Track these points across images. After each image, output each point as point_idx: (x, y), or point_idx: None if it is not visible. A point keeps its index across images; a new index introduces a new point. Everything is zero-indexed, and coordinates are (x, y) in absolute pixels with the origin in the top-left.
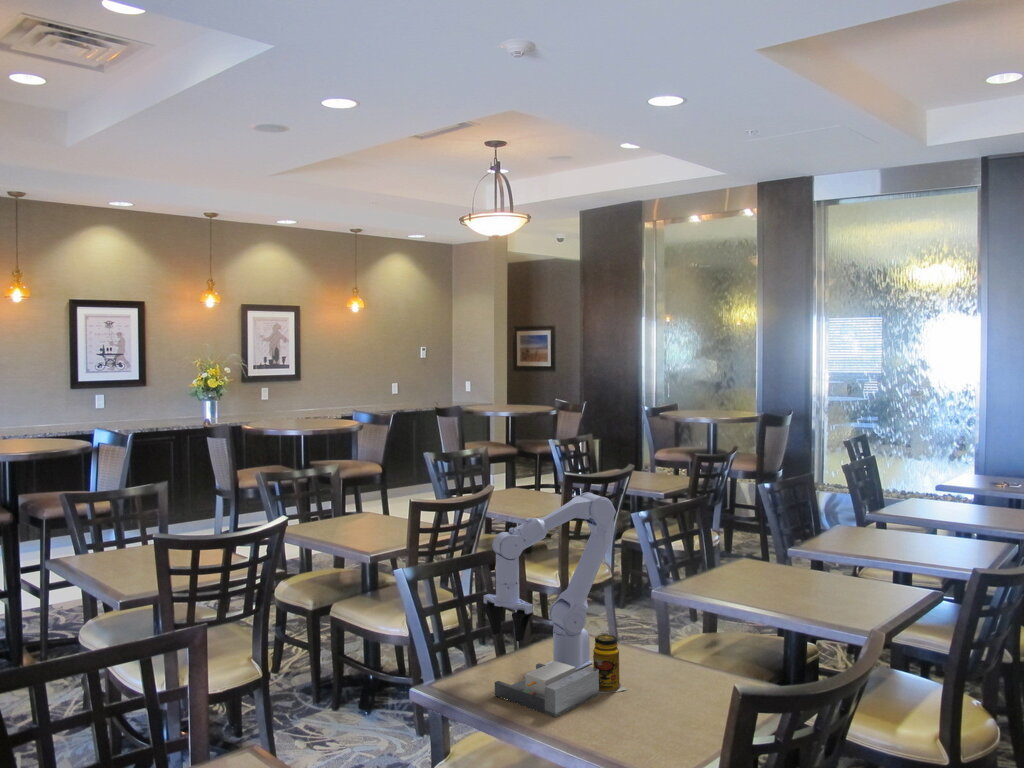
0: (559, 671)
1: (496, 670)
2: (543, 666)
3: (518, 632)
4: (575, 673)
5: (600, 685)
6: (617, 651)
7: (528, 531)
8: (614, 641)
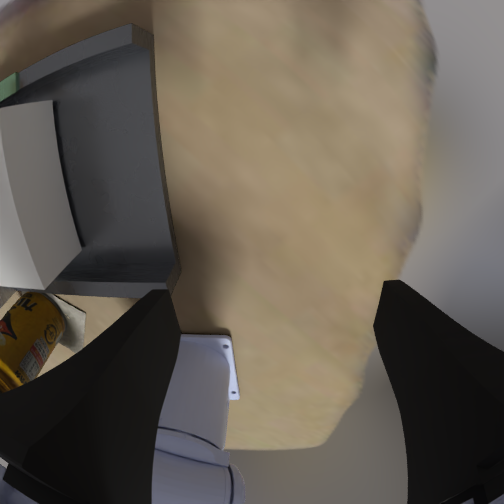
0: None
1: (338, 213)
2: (18, 220)
3: (111, 330)
4: None
5: (23, 296)
6: None
7: None
8: None
